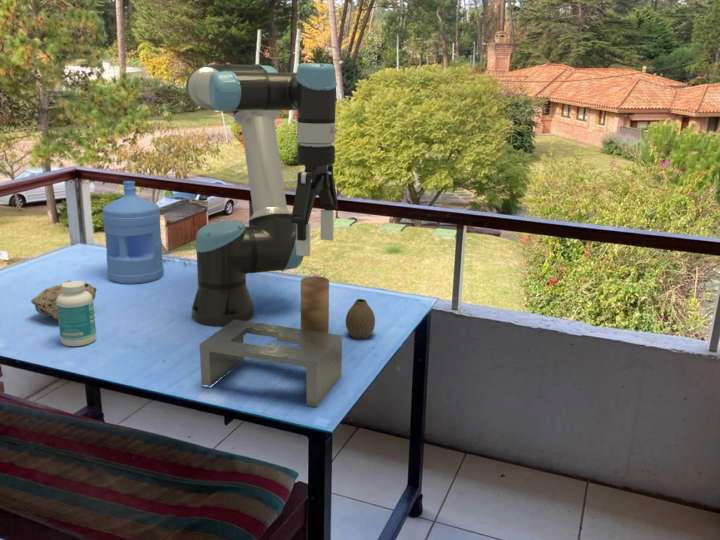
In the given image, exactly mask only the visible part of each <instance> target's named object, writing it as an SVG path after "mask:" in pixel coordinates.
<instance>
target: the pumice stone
mask: <svg viewBox="0 0 720 540" xmlns="http://www.w3.org/2000/svg"><path fill="white" fill-rule="evenodd" d="M71 281H72V280H67V281H66V282H71ZM66 282H64V283H66ZM62 284H63V283H61V284H59V285H55V286H51V287H48V288H45V289H44V290H42V291H41V292H40V293H39V294H37V296H35V297H33V298H31V300H30V302H31V303H32V305H34V308H35V311H36V312H37V313H38V314H40V315H43V316H45V317H52V318H53V319H54V320H57V321H58V312H57V304H56V299H57V297H58V296H59V295H60V294H62V293H63V291H62V286H61V285H62ZM84 284H85V290H84V291H87V292H89V293H90V294H91V295H92V297H93V301H94V300H95V299H96V292H97V288H96V287H94V286H93V285H92V284H90V283H88V282H84Z"/></svg>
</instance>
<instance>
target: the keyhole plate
mask: <svg viewBox="0 0 720 540" xmlns="http://www.w3.org/2000/svg"><path fill="white" fill-rule="evenodd" d="M247 334H250V335H255V336H256V335H257V336H263V337H270V338H275V339H276V342H278V343H286V344H291V345H298V346H297V347H293V346H288V345H280V344H274V343H267V344H266V345H264V346H262V345H256V344H251V343H250V344H249V343H244V341H245V340H244V337H245V336H246V335H247ZM342 353H343V335H342V334H337V333H330V332H329V333H324V332H317V331H310V330H303V329H301V328H296V327H289V326H282V325H276V324H275V325H274V324H269V323H263V322H257V321H255V322H254V321H249V320H247V321H242V320H235V319H234V320H233V321H231V322H230V323H229V324H227V325H226V326H222V327H221V328H220V329H219V330H217V331H216V332H214V333H213V334H212V335H210V336H209V337H207V338H206V339H205V340H203V341H202V342H201V343H199V356H200V357H199V358H200V361H199V362H200V378H201V379H200V382H201V386H202V385H208V386H211V385H212V384H214V383H215V382H216V381H218V380H219V379H220V378H221V377H223V376H224V375H226V374H227V373H228V372H229V371H231V370H232V369H233V370H234V369H235V368H237V367H238V366H239V365H240V364H241V363H243V361H245V359H246V358H247V359H253V360H259V361H263V362H265V361H266V362H271V363H272V362H273V363H277V364H283V365H290V366H296V367H302V368H306V396H305V397H306V399H305V400H306V405H310V406H309V407H311V406H315V407H314V408H316V407H317V408H318V407H319V405H320V404H321V403H322V402H323V400H324V399H325V397H326V396H327V395H328V394H329V393H330V391H331V390H332V389H333V387H334V386H335V385H336V384H337V382H338V381H339V380H340V379H341V377H342V371H343V370H342V368H343V366H342V363H343V362H342V361H343V359H342V357H343V354H342ZM233 370H232V371H233ZM229 373H230V372H229ZM229 373H228V374H229ZM228 374H227V375H228ZM227 375H226V376H227ZM323 398H324V399H323ZM320 402H321V403H320ZM319 403H320V404H319Z"/></svg>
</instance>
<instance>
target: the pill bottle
mask: <svg viewBox="0 0 720 540" xmlns="http://www.w3.org/2000/svg"><path fill="white" fill-rule="evenodd" d="M70 281H71V282H68V281H66V283H65V282H64V283H61V284H62V285H61V284H60V285H61V286H62V291H63V293H62V294H60V295H59V296H58V297H57V299H56V304H57V312H58V319H57V321H58V329H59V337H60V342H61V343H62V344H63V345H64V346H67V347H80V346H86V345H89V344H91V343H93V342H94V341H95V340H96V338H97V328H96V320H95V319H96V318H95V311H94V310H95V309H94V308H95V307H94V300H93V297H92V295H91V294H90V293H89V292H87V291H84V290H85V284H84V283H85V282H84V281H81V280H73V281H72V280H70Z"/></svg>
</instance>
